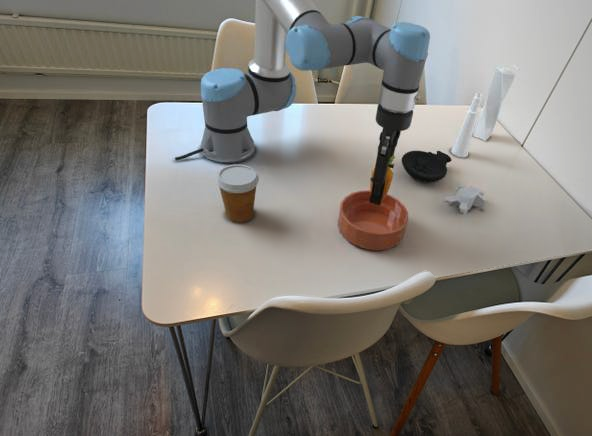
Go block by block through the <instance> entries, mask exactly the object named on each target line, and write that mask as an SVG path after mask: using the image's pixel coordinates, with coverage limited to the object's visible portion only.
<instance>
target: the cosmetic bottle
mask: <svg viewBox="0 0 592 436" xmlns="http://www.w3.org/2000/svg"><path fill="white" fill-rule="evenodd" d="M482 101H483V94H482V93H481V92H475V95H474V96H473V98H472V101H471V105H470V108H469V109H468V110H467V112H466V114H465V117H464V120H463V123H462V125H461V128H460V130H459V133H458V135H457V138H456V140H455V142H454V144H453V146H452V148H451V149H450V151H451V154H452V155H453V156H455V157H457V158H466V157H468V156H469V152H470V151H469V150H470V145H471V141H472V137H473V133H474V130H475V127H476V124H477V121H478V118H479V115H480V112H479V109H480V107H481V104H482Z"/></svg>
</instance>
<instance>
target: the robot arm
mask: <svg viewBox="0 0 592 436" xmlns="http://www.w3.org/2000/svg"><path fill="white" fill-rule="evenodd" d="M254 9H255V13H254V45H253V46H254V47H253V48H254V51H253V58H252V59H251V60H250V61H248V65H247V67H248V68H247V73H244V72H243V71H242V70H241V69H238V68H234V67H230V68H228V67H221V68H215V69H212V70H210V71H207V72H206V73H205V74H204V75H203V76H202V78H201V79H200V97H201V102H202V111H203V120H204V130H203V134H202V139H201V143H200V148H199V149H195V150H193V151H190V152H189V153H185V154H183V155H180V156H175V157H174V160H175V161H182V160H184V159H187V158H189V157H191V156H195V155H197V154H200V153H201V154H202V155H203V156H204V157H205V158H206V159H208V160H210V161H212V162H216V163H220V164H221V163H222V164H235V163H241V162H244V161H246V160H248V159H250V158H251V157H252V156H254V153H255V140H254V139H253V136H252V135H251V132H250V130H249V128H248V117H252V116H256V115H261V114H267V113H271V112H279V111H282V110H285V109H288V108H289V107H290V106H292V105H293V103H294V102H295V100H296V96H297V84H296V79H295V77H294V74H293V73H292V71H291V68H290V67H289V65H288V64H287V63H286V57H287V55H288V60H289V62H290V63H291V65H292V66H293V67H294V68H296V70H299V71H303V72H307V71H323V70H326V69H331V68H339V67H344V66H345V67H346V66H353V65H359V64H370V65H372V66H374V67H375V68H378V69H380V70H381V71H383V72H382V78H381V84H380V89H379V95H378V104H377V108H376V113H375V122H376V124H377V125H378V126H379V127H381V128H382V131H381V132H380V134H379V138H378V139H379V144H378V146H377V155H376V160H375V165H374V168H375V170H374V175H373V177H371V176H370V179H369V181H370V182H371V181H372V183H373V185H372V191H371V196H370V201H369V203H373V204H377V205H381V201H382V196H383V191H384V187H385V182H386V181H385V178H386V174H387V170H388V165H389V161H390V158H391V157H392V156H395V151H396V148H397V145H398V143H399V139H400V137H401V133H402V132H404V131H406V130H408V129H409V128H410V127H411V124H412V119H413V116H414V109H415V106H416V102H417V101H419V100H420V99H421V96H420V95H419V94H418V93H419V89H420V84H421V80H422V76H423V72H424V68H425V64H426V61H427V58H428V55H429V53H428V52H429V46H430V40H431V33H430V31H429V30H428V29H427V28H425V27H424V26H422V25H420V24H415V23H412V22H406V21H399V22H395V23H393V24H392V26H391V28H390V27H388V26H385V25H384V24H381V23H379V22H376V21H375V20H374V19H372V18H369V17H364V16H362V15H356V16H355V15H354V16H353V17H351V18H350V19H349V20H347V21H346V22H345V23H342V22H341V23H330V22H328V20H327V18H326V17H325V16H324V15H323V14H322V12H321V11H320V10H319V8H318V7H317V6H316V4H315V3H314V2H313V1H312V0H255V8H254ZM393 162H394V159H393V160H392V162H391V163H392V164H393V165H390V166H389V167H390V168H391V169H394V168H395V164H394V163H393Z"/></svg>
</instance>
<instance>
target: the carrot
mask: <svg viewBox="0 0 592 436" xmlns="http://www.w3.org/2000/svg"><path fill="white" fill-rule="evenodd" d="M394 159H396V156H395V155H394V156H392V157H391V158H390V161H389V165H388V170H387V174H386V178H385V181H386V182H385V187H384V191H383V196H382V201H383V200H384V199H385V197H386V195H387V194H389V191H390V188H391V185H392V181H393V176H394V172H393V170H392V168H390V167H389V166H390V165H393V164H394V163H393V161H394ZM392 160H393V161H392ZM391 162H392V163H391ZM374 170H375V167H373V168H372V170H371V174H370V175H371V176H370V178H371V177H373V175H374ZM369 183H370V184H369V190H370V195H371V191H372V185H373V183H372V181H370V182H369ZM382 201H381V203H382ZM373 205H374V206H375V207H378V206H379V205H377V204H373Z"/></svg>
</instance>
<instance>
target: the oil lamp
mask: <svg viewBox="0 0 592 436" xmlns="http://www.w3.org/2000/svg"><path fill="white" fill-rule="evenodd" d="M451 162H452V158H451V156H450V155H449V154H447V153H445V152H443V151H441V150H436V153H433V152H432V151H423V150H410V151H407V152H405V153H404V154H403V155H402V157H401V164H402V167H403V169H404V171H405V172H406V174H407V175H409V176H410V178H412V179H414V180H416V181H419V182H422V183H426V184H427V183H428V184H429V183H436V182H439V181H441V180H442V179H444V178H445V177H446V176H447V174H448V167H447V165H448V163H451Z"/></svg>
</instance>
